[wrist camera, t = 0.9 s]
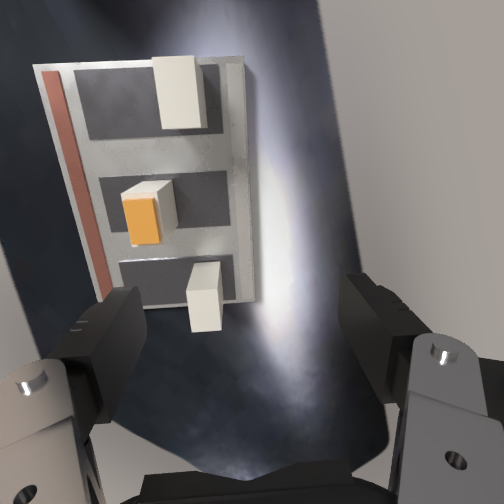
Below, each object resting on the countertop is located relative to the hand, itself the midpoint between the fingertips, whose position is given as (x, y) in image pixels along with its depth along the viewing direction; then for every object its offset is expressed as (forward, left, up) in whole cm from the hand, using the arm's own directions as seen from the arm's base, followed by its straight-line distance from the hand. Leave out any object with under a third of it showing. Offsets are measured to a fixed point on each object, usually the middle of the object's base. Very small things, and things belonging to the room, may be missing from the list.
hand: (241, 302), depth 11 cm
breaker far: (+8, -3, -18) cm, 20 cm away
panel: (0, -7, -20) cm, 21 cm away
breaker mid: (0, -7, -18) cm, 19 cm away
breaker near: (-8, -3, -18) cm, 20 cm away
